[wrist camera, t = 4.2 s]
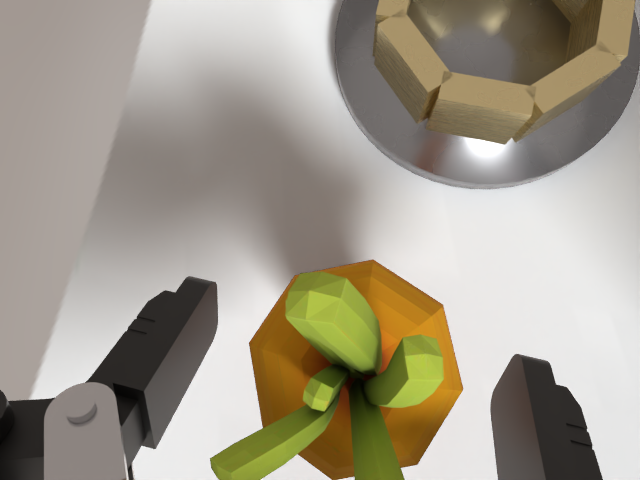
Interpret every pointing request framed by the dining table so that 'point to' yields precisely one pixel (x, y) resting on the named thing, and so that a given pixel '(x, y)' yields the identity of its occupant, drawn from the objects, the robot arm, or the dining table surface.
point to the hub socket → (486, 82)
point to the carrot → (347, 377)
